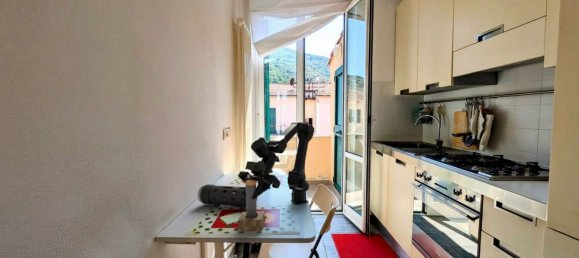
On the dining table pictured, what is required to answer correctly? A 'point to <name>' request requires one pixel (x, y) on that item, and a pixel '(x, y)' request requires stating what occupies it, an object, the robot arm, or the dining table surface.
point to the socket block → (251, 222)
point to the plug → (251, 203)
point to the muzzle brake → (222, 195)
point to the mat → (231, 218)
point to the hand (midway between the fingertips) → (248, 198)
